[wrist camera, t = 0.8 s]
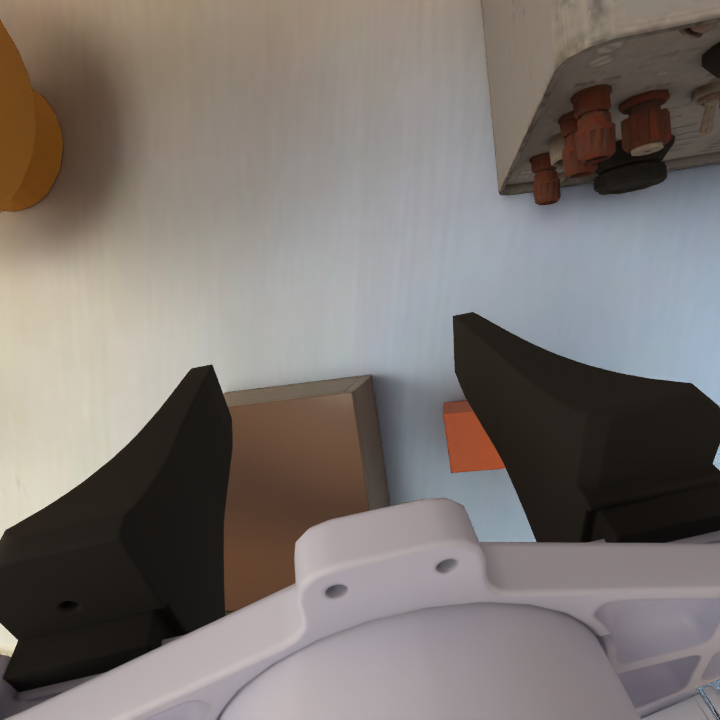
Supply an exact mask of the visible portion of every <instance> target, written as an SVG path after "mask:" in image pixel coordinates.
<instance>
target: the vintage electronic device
mask: <svg viewBox="0 0 720 720" xmlns="http://www.w3.org/2000/svg"><path fill="white" fill-rule="evenodd" d="M481 5H482V16H483V26H484V37H485V48H486V59H487V69H488V80H489V91H490V102H491V113H492V123H493V134H494V145H495V156H496V167H497V177H498V188H499V194H500V195H515V194H522V193H529V192H534V196H535V203H537V204H538V205H549V204H553V203H556V202H557V201H558V200H559V199H560V188H561V187H567V186H574V185H580V184H587V183H593V182H594V190H595V191H596V192H598V193H599V194H601V195H607V194H620V193H626V192H631V191H635V190H640V189H645V188H647V187H650V186H653V185H656V184H659V183H661V182H663V181H664V180H665V179H666V178H667V171H671V170H677V169H684V168H690V167H697V166H703V165H709V164H716V163H720V0H481Z"/></svg>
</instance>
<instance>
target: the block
mask: <svg viewBox="0 0 720 720" xmlns="http://www.w3.org/2000/svg"><path fill="white" fill-rule="evenodd" d="M443 416H444V423H445V431H446V438H447V446H448V453H449V461H450V468H451V473H457V472H469V471H480V470H492V469H504V468H505V465H504V463H503V461H502V460H501V458H500V456H499V454H498V452H497V450H496V449H495V447H494V445H493V444H492V442H491V440H490V438H489V437H488V435H487V433H486V432H485V430H484V428H483V427H482V425H481V423H480V422H479V420H478V418H477V417H476V415H475V413H474V412H473V410H472V408H471V406H470V405H469V403H468V401H467V400H464V401H455V402H446V403H444V412H443Z"/></svg>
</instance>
